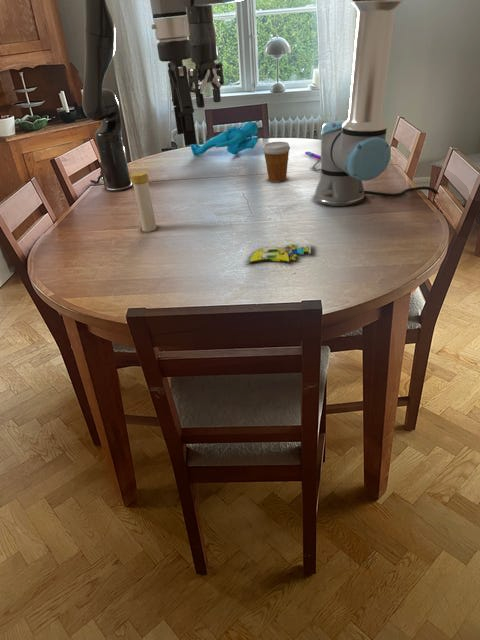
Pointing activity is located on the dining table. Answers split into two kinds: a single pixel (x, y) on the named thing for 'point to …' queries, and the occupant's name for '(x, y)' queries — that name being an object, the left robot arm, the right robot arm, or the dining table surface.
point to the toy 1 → (231, 140)
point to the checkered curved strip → (315, 157)
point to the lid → (139, 177)
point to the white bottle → (145, 206)
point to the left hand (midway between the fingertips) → (209, 104)
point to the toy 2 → (278, 254)
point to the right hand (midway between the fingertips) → (186, 138)
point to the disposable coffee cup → (276, 160)
